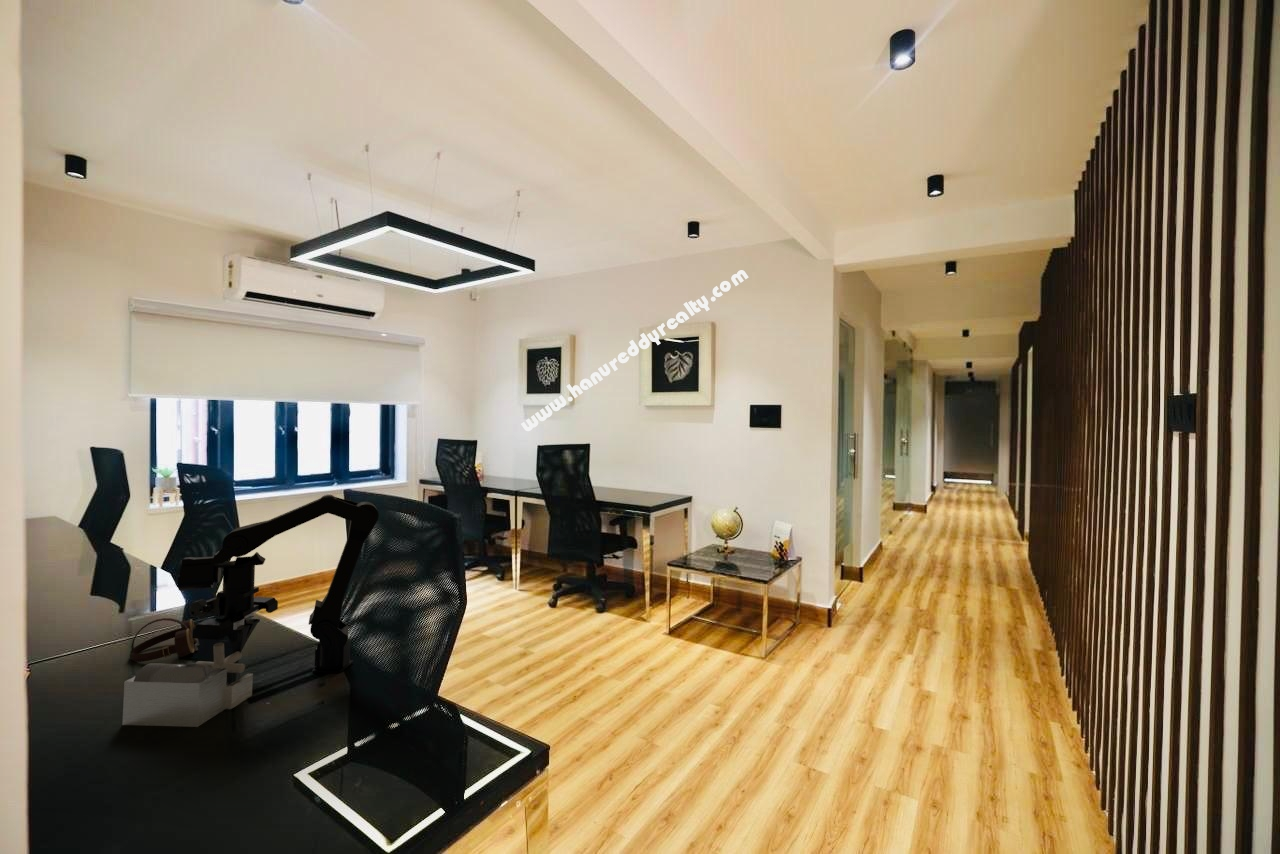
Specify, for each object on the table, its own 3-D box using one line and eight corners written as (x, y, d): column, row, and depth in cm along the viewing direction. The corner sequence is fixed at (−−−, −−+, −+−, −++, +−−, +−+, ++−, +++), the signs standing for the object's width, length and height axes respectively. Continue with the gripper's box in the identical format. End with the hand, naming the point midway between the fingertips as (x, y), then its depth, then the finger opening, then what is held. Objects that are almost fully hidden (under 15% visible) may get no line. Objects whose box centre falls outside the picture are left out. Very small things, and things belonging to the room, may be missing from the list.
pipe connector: (260, 678, 124) (258, 635, 124) (223, 704, 115) (222, 657, 114) (217, 675, 125) (215, 632, 124) (177, 701, 115) (175, 654, 114)
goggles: (198, 656, 137) (187, 617, 136) (127, 680, 129) (116, 639, 128) (202, 637, 149) (193, 602, 148) (138, 658, 142) (128, 621, 141)
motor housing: (252, 695, 118) (254, 647, 118) (204, 726, 105) (206, 672, 105) (172, 693, 118) (174, 645, 118) (114, 724, 105) (117, 670, 105)
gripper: (234, 571, 134) (232, 636, 134) (166, 597, 115) (164, 672, 116) (280, 573, 134) (278, 638, 134) (220, 599, 115) (218, 675, 115)
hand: (236, 654), depth 125 cm, fingers closed
